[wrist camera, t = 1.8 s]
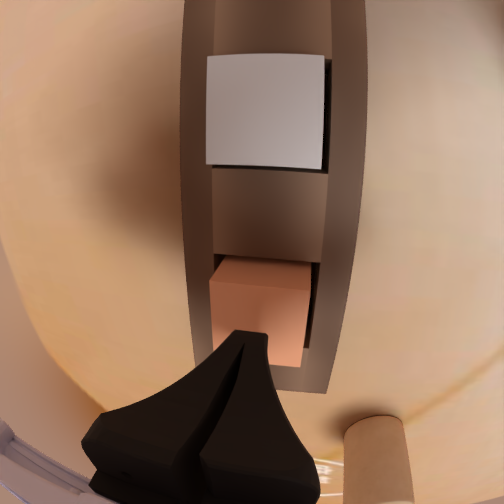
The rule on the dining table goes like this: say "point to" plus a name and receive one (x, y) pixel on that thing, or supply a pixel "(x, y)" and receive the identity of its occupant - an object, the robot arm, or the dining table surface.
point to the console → (276, 169)
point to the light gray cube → (265, 110)
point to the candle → (377, 463)
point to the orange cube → (262, 303)
